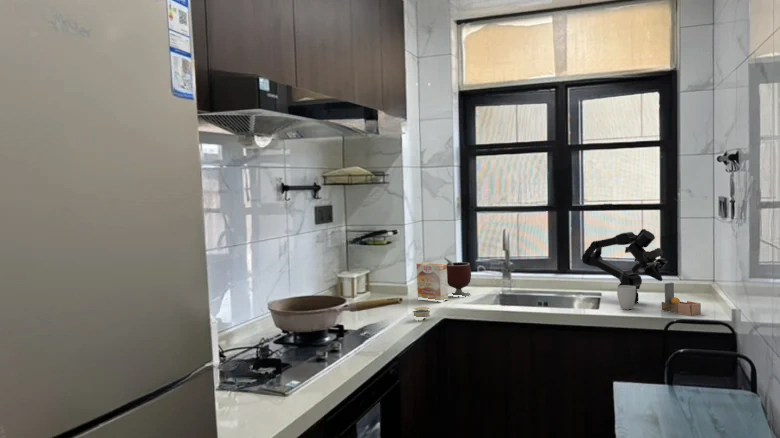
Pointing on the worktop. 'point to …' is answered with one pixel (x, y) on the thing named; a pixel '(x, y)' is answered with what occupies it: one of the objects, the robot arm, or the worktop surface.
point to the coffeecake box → (432, 280)
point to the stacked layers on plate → (421, 312)
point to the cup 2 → (689, 308)
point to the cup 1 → (626, 296)
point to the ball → (675, 300)
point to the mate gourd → (458, 276)
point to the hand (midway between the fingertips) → (661, 280)
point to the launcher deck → (671, 307)
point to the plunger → (669, 292)
